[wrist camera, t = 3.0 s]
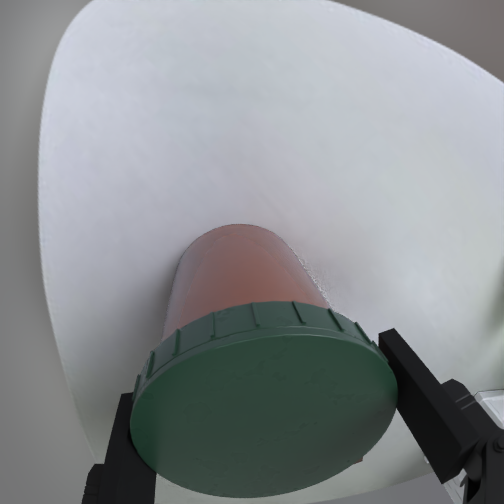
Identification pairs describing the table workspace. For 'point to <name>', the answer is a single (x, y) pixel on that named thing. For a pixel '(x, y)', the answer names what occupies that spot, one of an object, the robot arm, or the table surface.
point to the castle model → (500, 410)
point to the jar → (236, 275)
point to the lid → (261, 400)
